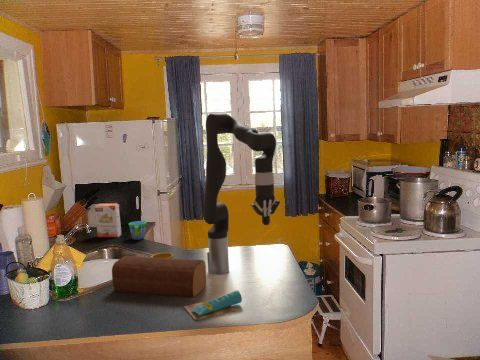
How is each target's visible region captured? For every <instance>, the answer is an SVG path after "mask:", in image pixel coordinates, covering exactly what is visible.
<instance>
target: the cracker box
mask: <svg viewBox="0 0 480 360" xmlns="http://www.w3.org/2000/svg"><path fill="white" fill-rule="evenodd" d="M94 211H95V223H96V230H97V231H96V233H97V234H96V235H97V238H119V237H120V236H122V227H121V216H120V204H119V203H110V204H109V203H106V204H105V203H104V204H103V203H98V204H95V206H94Z"/></svg>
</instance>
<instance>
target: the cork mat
mask: <svg viewBox="0 0 480 360" xmlns="http://www.w3.org/2000/svg"><path fill="white" fill-rule="evenodd" d="M214 299H215V298H213V299H211V300H214ZM211 300H205V301H200V302H196V303H193V304H189V305H184V306H183V309H184V310H185V311H186V312H187V314H189V316H190V317H192V319H193V320H194V321H200V320H203V319H207V318H210V317H211V318H212V317H215V316H220V315H223V314H224V315H225V314H227V313H228V314H229V313H231V312H235V308H234V307H233V306H229V307H226V308H223V309H220V310H217V311H214V312H211V313H207V314H203V315H198V314H197V313H196V312H194V311H193V310H191V309H192V308H195V307H197V306H199V305H201V304H204V303H206V302H209V301H211Z"/></svg>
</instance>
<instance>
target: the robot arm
mask: <svg viewBox="0 0 480 360" xmlns="http://www.w3.org/2000/svg"><path fill="white" fill-rule="evenodd" d="M205 134H206V137H205V138H206V139H205V140H206V163H205V164H206V165H205V190H204V191H205V192H204V199H203V200H204V201H203V205H202V208H203V209H202V216H203V219H204V222H205V223H206V224H207V225H212V227H211V228H210V229H208V231H207V243H208V252H207V253H206V258H207V271H208V273H211V274H212V275H224V274H227V273H229V272H230V266H229V265H230V264H229V262H230V261H229V245H228V244H229V243H228V240H229V239H228V232H229V215H230V214H229V209H228V206H227V204H225V203H224V202H221V201H219V202H218V196H219V193H220V191H221V189H222V186H223V185H224V183H225V181H226V177H227V161H226V158H225V157H224V155H223V153H222V151H221V150H220V146H219V141H218V135H221V134H232V135H234V137H235V139H236V140H237V141H239V142H240V143H243V144H245V145H246V146H247V147H248V148H249V149H250V150H251V151H254V152H262V154H261V156H259V157H256V158H255V160H254V169H255V171H254V172H255V173H254V180H255V181H254V183H255V184H254V186H255V189H254V190H255V199H254V202H253V203H250V207H251V208H252V210H253V211H254V212H255V214H257V215H258V216H261V222H262V225H264V226H269V225H270V223H271V218H270V217H271V215H273V214H275V212H276V210H277V209H278V207H279V205H280V204H281V202H280V200H277V199H276V197H275V180H274V171H273V170H274V167H273V166H274V165H273V159H274V157H275V152H276V148H277V147H276V146H277V140H276V137H275V135H274V134H273V133H271V132H263V133H259V132H258V131H257V130H256V129H255V128H253V127H250V126H248V125H245V124H243V123H242V122H240V121H238V120H237V119H236V118H234V117H233V116H231V115H230V114H228V113H225V112H223V113H222V112H219V113H218V112H215V113H209V114H208V115H207V116H206V120H205Z"/></svg>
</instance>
